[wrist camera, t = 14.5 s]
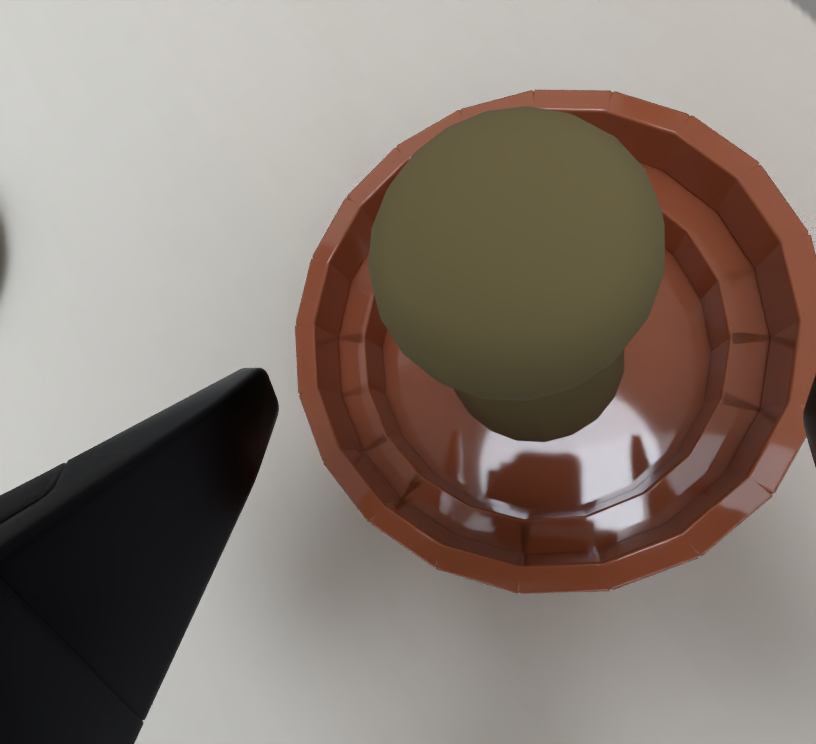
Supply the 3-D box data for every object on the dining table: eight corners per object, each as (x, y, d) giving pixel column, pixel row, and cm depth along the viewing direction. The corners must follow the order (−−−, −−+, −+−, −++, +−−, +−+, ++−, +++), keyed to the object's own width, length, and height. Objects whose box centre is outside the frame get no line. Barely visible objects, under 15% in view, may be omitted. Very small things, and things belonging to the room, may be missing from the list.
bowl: (627, 653, 17) (650, 718, 12) (286, 427, 21) (218, 419, 17) (846, 260, 17) (944, 191, 13) (460, 120, 21) (436, 35, 17)
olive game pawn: (466, 264, 20) (362, 41, 9) (639, 284, 18) (751, 35, 7) (433, 422, 19) (280, 375, 9) (608, 460, 17) (684, 457, 7)
